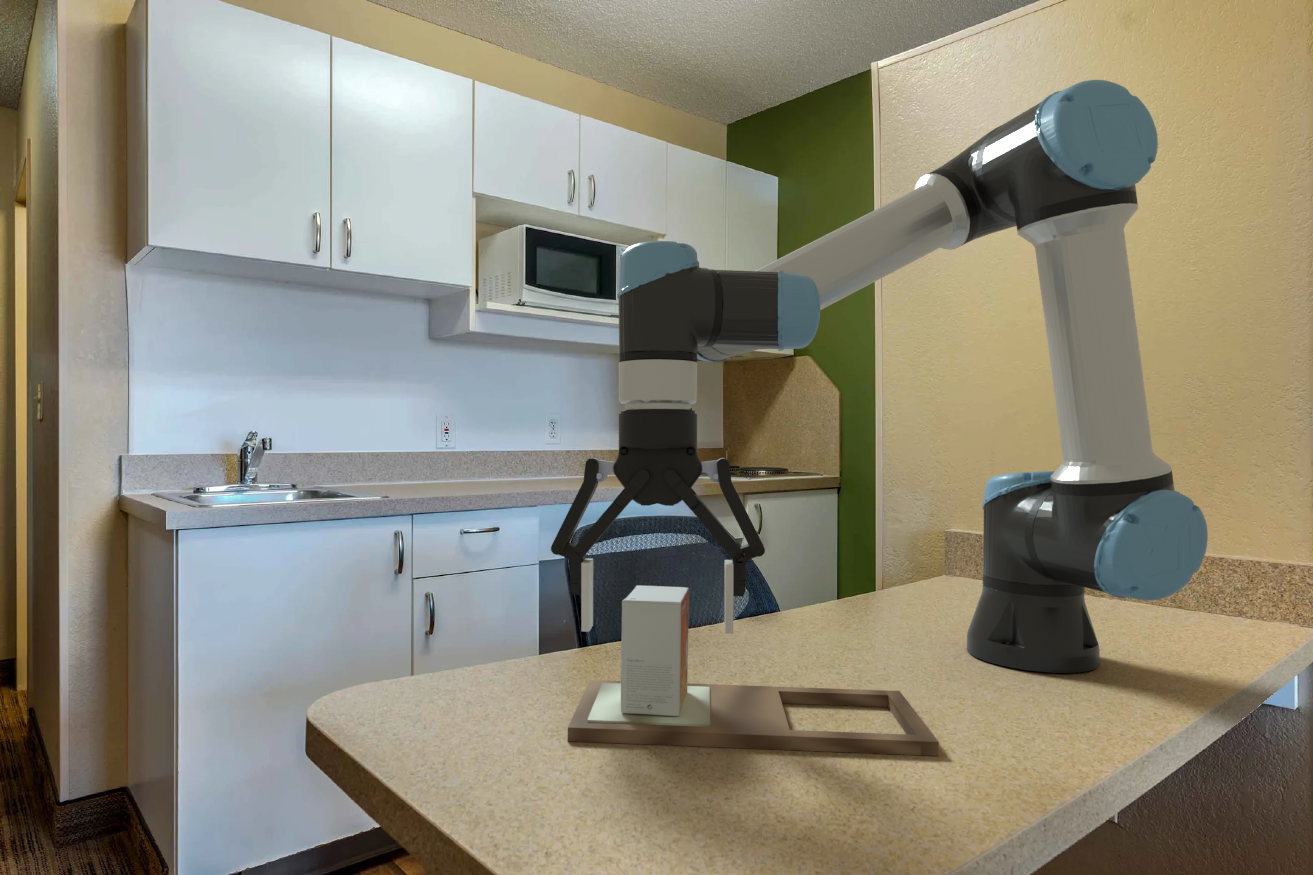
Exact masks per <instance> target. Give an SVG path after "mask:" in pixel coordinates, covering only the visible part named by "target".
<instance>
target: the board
mask: <svg viewBox="0 0 1313 875" xmlns="http://www.w3.org/2000/svg"><path fill="white" fill-rule="evenodd" d="M783 704H794V705H795V704H797V705H801V704H802V705H821V706H823V705H827V706H851V707H853V706H855V707H856V706H857V707H877V708H878V707H880V708H883V707H884V708H885V707H886V708H888V709H889V711H890V712H891V714H892V715H893V717H894V718H895V720H896V721H897V722H898V724H899V725H900V727H901V729H902V730H903V731H904V733H905V734H903V733H901V734H900V733H876V732H856V731H855V732H852V731H851V732H850V731H826V730H825V731H824V730H823V731H822V730H799V729H790V726H789V723H788V719H787V715H786V713H785V712H786V711H785V709H784V706H783ZM567 742H578V743H579V742H580V743H583V742H584V743H603V744H604V743H607V744H608V743H609V744H610V743H611V744H629V745H630V744H632V745H636V744H637V745H652V746H653V745H656V746H657V745H658V746H679V747H680V746H682V747H704V748H705V747H706V748H731V749H732V748H733V749H752V750H753V749H758V750H759V749H760V750H779V751H781V750H782V751H804V752H805V751H807V752H831V753H832V752H833V753H853V754H855V753H856V754H857V753H858V754H859V753H860V754H878V755H880V754H881V755H884V754H885V755H903V756H905V755H908V756H909V755H910V756H929V757H931V756H932V757H934V756H935V757H939V756H940V755H939V753H940V752H939V751H940V747H939V746H940V745H939V744H940V742H939V740H938V739H937V738H936V736H935V735H934V734H933V733H932V731H931V730H930V729H929V727H928V726H927V725H926V723H925V722H924V720H922V718H921V716H919V713H917V712H916V710H915V709H914V707H913V706H912V705H911V704H910V702H909V701H908V700H907V698H906V697H905V696H904V695H903V693H902V692H901V690H882V689H881V690H878V689H854V688H853V689H852V688H826V687H825V688H824V687H823V688H822V687H797V686H796V687H795V686H794V687H793V686H773V685H772V686H770V685H769V686H767V685H764V686H763V685H744V684H743V685H741V684H740V685H739V684H719V683H717V684H713V683H688V682H687V694H686V696H685V699H684V702H683V705H682V708H681V712H680V715H679V716H667V715H648V714H629V713H621V680H606V679H605V680H603V679H602V680H601V679H600V680H599V679H589V681H588V683H587V686H586V687H585V689H584V691H583V694H582V696H581V699H580V700H579V702H578V705H577V706H576V709H575V711H574V713H573V715H572V717H571V720H570V722H569V724H568V725H567Z"/></svg>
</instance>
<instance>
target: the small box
mask: <svg viewBox="0 0 1313 875" xmlns="http://www.w3.org/2000/svg"><path fill="white" fill-rule="evenodd" d="M689 620H690V588H689V587H683V586H665V585H664V586H661V585H659V586H658V585H635V587H634V588H633V590H632V591H631V592H630V593H629V594H628V595H627V596H626V597H625V598H624V599H622V601H621V643H620V644H621V645H620V646H621V647H620V648H621V650H620V651H621V652H620V661H621V662H620V681H621V713H629V714H648V715H667V716H679V715H680V712H681V708H682V705H683V702H684V699H685V696H686V694H687V683H688V669H689V666H688V665H689V664H688V660H689V624H690V623H689V622H690V621H689Z"/></svg>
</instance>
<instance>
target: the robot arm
mask: <svg viewBox="0 0 1313 875" xmlns="http://www.w3.org/2000/svg"><path fill="white" fill-rule="evenodd" d="M1157 132H1158V131H1157V128H1156V124H1155V122H1154V119H1153V117H1152V115H1151V113H1150V111H1149V109H1148V108H1147V107H1146V105H1145V104H1144V103H1143V101H1142V100H1141V99H1140V98H1139V97H1138V96H1136V95H1133V94H1131V93H1130V91H1129V90H1128V89H1127V88H1126V87H1125V86H1122V85H1121V84H1118V83H1116V82H1113V81H1109V80H1106V79H1105V80H1104V79H1089V80H1084V81H1080V82H1078V83H1077V82H1076V83H1075V84H1073V85H1070V86H1069V87H1067V88H1065V89H1063V90H1058V91H1055V92H1053V93H1051V94H1049V95H1048V96H1047V97H1045V98H1044V99H1043V100H1041V102H1039V103H1037V104H1035V105H1034V106H1032V107H1030V108H1029V109H1027V110H1025V111H1023V112H1022V113H1020V114H1018V115H1016V116H1015V117H1013V118H1011V119H1010V120H1008V121H1006V122H1005V123H1003V124H1002V125H998V127H996V128H994V129H992V130H990V131H989V132H988V133H985V135H983V136H982V137H981V138H979V139H978V140H977V141H975V142H974V143H972V144H971V145H970V146H968V147H967V148H965V149H964V150H963V151H961V152H960V153H959V154H957V155H956V156H955V157H953V158H951V159H950V160H948V161H947V162H945V163H944V164H943V165H941V166H939V167H937V168H936V169H934V170H933V171H930V172H929V173H926V174H924V175H922V176H921V177H920V178H919V179H918V180H917V181H916V183H915V185H914V187H913V190H911V191H909V192H908V193H905V194H903V195H902V196H900V197H897V198H896V199H894V200H892V201H890V202H888V203H886V204H884V205H882V206H880V207H878V208H876V209H874V210H872V211H870V212H868V213H866V214H865V215H862V216H860V217H858V218H857V219H854V220H853V221H850V222H849V223H847V224H844V225H843V226H841V227H838V228H837V229H835V230H833V231H831V232H828V233H827V234H824V235H823V236H821V237H819V238H817V239H815V240H813V241H811V242H810V243H809V242H808V243H807V244H805V245H803V246H801V247H800V248H797V249H796V250H794V251H792V252H789V253H787V254H785V255H784V256H782V257H780V258H777V259H776V260H774V261H772V262H770V263H768V264H766V265H764V266H762V267H760V268H758V269H756V270H731V269H730V270H726V269H713V268H712V269H709V268H707V267H700V262H699V260H698V253H697V250H696V248H694V246H692V245H690V244H687V243H684V242H683V243H682V242H681V243H680V242H679V243H678V242H677V241H669V240H652V241H643V242H638V243H635V244H633V245H630V246H629V247H627V248H626V249H625V251H623V252H622V254H621V257H620V264H619V266H620V268H619V280H618V282H619V284H618V293H617V299H618V349H619V350H618V351H619V352H618V354H619V356H618V359H619V360H618V361H619V362H618V402H619V403H620V404H621V405H624V410H621V411H620V413H618V454H617V457H616V460H615V461H612V460H611V461H610V460H602V459H599V458H598V457H591V458H588V459H587V460H586V461H585V467H584V472H583V473H584V475H583V481H582V483H581V485H580V487H579V490H578V491H577V493H576V495H575V498H574V500H573V501H572V503H571V505H570V507H569V509H568V511H567V513H566V515H565V517H564V520H563V522H562V524H561V526H560V527H559V530H558V531H557V534H556V536H555V538H554V539H553V542H552V544H551V546H550V551H551V553H552V554H553V555H556V556H561V557H564V558H566V559H567V560H568V561H569V564H570V572H569V573H570V576H569V577H570V578H569V580H570V581H569V582H570V584H569V586H570V592H571V595H577V596H578V595H581V596H580V597H581V598H580V600H581V605H580V606H581V611H580V613H581V614H580V615H581V618H580V620H581V630H580V631H581V632H587V633H588V632H590V631H591V630H592V627H593V626H594V558H586V554H588V552H590V550H591V549H592V548H593V546H594V545H595V544H596V543H597V542H598V540H599V539H600V538H601V537H602V536H603V534H604V533H605V532H606V531H607V530H608V529H609V527H611V525H612V524H613V523H614V522H615V520H616V519H617V518H618V517H619V515H621V513H622V512H623V511H624V510H625V509H626V507H627V506H628V505H630V503H631V502H632V500H633V502H635V503H636V504H639V505H640V506H641V507H642V506H643V507H644V506H645V507H646V506H652V505H657V504H659V505H663V506H669V507H670V506H672V507H673V506H674V505H678V504H679V503H681V502H683V503H684V504H685V505H686V506H687V507H688V509H690V511H691V512H692V513H693V514H694V515H695V516H696V518H697V519H698V520H699V521H700V522H701V524H703V526H704V527H705V529H706V530H707V531H708V532H709V533H710V534H711V535H712V537H713V538H714V539H715V540H716V541H717V543H718V544H719V545H720V546H721V547H722V548H723V550H724V551H725V552H726V553H727V555H728V556H730V557H731V559H724V633H725V635H727V634H729V635H732V634H734V597H744V596H745V593H746V565H747V562H749V561H750V560H752V559H754V558H757V557H762V556H763V555H764V554H765V553H766V552H765V551H766V548H765V547H764V545H763V541H762V540H761V538H760V536H759V535H758V532H757V530H756V528H755V526H754V525H753V522H752V520H751V518H750V516H749V513H748V512H747V510H746V507H745V506H744V504H743V502H742V500H741V498H740V496H739V494H738V492H737V490H736V488H735V485H734V484H733V482H732V481H733V480H732V473H731V466H730V461H729V460H728V459H727V458H725V457H721V458H720V457H719V459H717V460H707V461H701V460H700V459H699V456H698V413H696V411H695V410H693V408H692V407H691V405H695V404H696V403H697V402H698V360H700V361H703V362H709V363H710V362H711V363H720V362H724V361H726V360H727V359H729V358H733V357H737V356H739V355H744V354H749V353H751V352H754V351H755V352H756V351H758V350H778V351H779V352H780V351H784V350H795V349H796V350H797V349H798V350H799V349H800V350H801V349H804V348H806V347H807V346H809V345H810V344H811V343H812V341H813V340H814V339H815V337H816V334H817V331H818V329H819V326H820V325H819V324H820V318H821V310H823V309H825V308H828V307H829V306H831V305H833V304H834V303H837V302H840V301H841V300H843V299H844V298H847V297H849V296H850V295H852V294H854V293H856V292H858V291H860V290H861V289H863V288H866V287H867V286H869V285H871V284H873V283H876V282H878V281H879V280H881V279H883V278H884V277H886V276H889V275H890V274H893V273H894V272H896V271H898V270H900V269H902V268H904V267H906V266H908V265H909V264H912V263H913V262H915V261H917V260H919V259H922V258H924V257H925V256H926V255H929V254H931V253H933V252H934V251H937V250H938V249H943V250H948V251H949V250H950V251H952V250H955V249H959V248H960V247H962V246H963V245H965V244H967V243H970V242H972V241H974V240H977V239H979V238H982V237H985V236H988V235H991V234H994V233H998V232H1000V231H1005V230H1007V229H1011V228H1014V227H1015V228H1016V231H1017V235H1018V236H1020V237H1021V238H1023V239H1024V240H1026V241H1027V242H1028V243H1030V244H1031V245H1032V246H1033V247H1034V251H1035V257H1036V265H1037V267H1036V268H1037V274H1038V280H1039V288H1040V296H1041V302H1042V310H1043V318H1044V324H1045V333H1046V339H1047V348H1048V349H1047V350H1048V353H1049V355H1048V356H1049V363H1050V368H1051V369H1050V370H1051V378H1052V384H1053V386H1052V387H1053V393H1054V399H1055V406H1056V407H1055V408H1056V414H1057V415H1056V416H1057V421H1058V430H1059V436H1060V437H1059V438H1060V443H1061V444H1060V445H1061V451H1062V452H1061V453H1062V461H1061V463H1060V465H1059V466H1058V467H1057V468H1056V470H1049V471H1048V470H1047V471H1045V470H1044V471H1028V472H1026V471H1025V472H1013V473H1011V472H1009V473H1003V474H997V475H995V476H992V477H991V478H989V479H988V480H987V482H986V484H985V488H984V495H983V496H984V497H983V503H982V510H983V530H982V531H983V532H982V533H983V534H982V536H983V538H982V539H983V541H982V543H983V545H982V551H983V552H982V590H981V594H980V598H979V600H978V602H977V606H976V608H975V611H974V612H973V613H974V614H973V616H972V619H971V622H970V623H969V627H968V629H967V632H966V633H967V634H966V651H967V652H968V654H970V655H971V656H973V657H975V658H977V659H980V660H983V661H985V662H988V663H990V664H991V663H992V664H994V665H999V666H1002V667H1007V668H1012V669H1018V670H1022V671H1023V670H1024V671H1030V672H1039V673H1040V672H1041V673H1055V674H1057V673H1058V674H1075V673H1085V672H1089V671H1094V670H1095V669H1097V668H1099V667H1100V650H1101V649H1100V643H1099V641H1098V638H1097V636H1096V632H1095V629H1094V626H1093V622H1092V620H1091V617H1090V614H1089V610H1088V608H1087V605H1086V600H1085V588H1086V589H1090V590H1094V591H1097V592H1100V593H1105V594H1107V595H1110V596H1112V597H1115V598H1119V599H1135V600H1140V601H1159V600H1162V599H1165V598H1168V597H1170V596H1173V595H1174V594H1176V593H1178V592H1179V591H1181V589H1183V588H1184V587H1186V586H1187V585H1188V584H1189V583H1190V582H1191V580H1192V577H1193V575H1194V573H1197V572H1198V571H1199V569H1200V567H1201V566H1202V564H1203V561H1204V558H1205V557H1206V552H1207V547H1208V540H1209V534H1208V532H1209V531H1208V524H1207V521H1206V518H1205V515H1204V513H1203V511H1202V510H1201V507H1200V506H1198V505H1196V504H1195V502H1194V500H1193V499H1192V498H1190V497H1188V496H1187V495H1185V494H1183V493H1180V491H1176V490H1175V485H1174V484H1175V483H1174V477H1173V475H1174V474H1173V469H1172V466H1171V465H1170V463H1167V462H1166V461H1164V460H1163V459H1162V458H1160V457H1159V456H1158V455H1156V454H1155V453H1154V451H1153V444H1152V436H1151V428H1150V420H1149V413H1148V405H1147V397H1146V390H1145V383H1144V382H1145V381H1144V375H1143V374H1144V373H1143V366H1142V357H1141V351H1140V343H1139V336H1138V335H1139V334H1138V330H1137V329H1138V327H1137V321H1136V320H1137V319H1136V313H1135V305H1134V304H1135V303H1134V296H1133V289H1132V282H1131V274H1130V268H1129V258H1128V251H1127V244H1126V243H1127V242H1126V236H1125V227H1126V226H1127V224H1128V222H1129V221H1130V220H1131V218H1132V217H1133V216H1134V214H1135V213H1136V212H1137V211H1138V209H1139V204H1138V197H1137V188H1136V184H1138V183H1140V182H1141V181H1142V179H1143V178H1144V177H1145V176H1146V175H1147V174H1148V173H1149V172H1150V170H1151V168H1152V166H1151V165H1152V164H1153V163H1154V162H1155V161H1156V158H1157V153H1158V147H1159V141H1158V139H1159V138H1158V133H1157ZM610 473H613V474H614V475H615V477H616V478H617V481H619V482H620V484H621V485H622V487H623V489H622V490H621V491H620V493H619V494H618V495H617V496H616V497H615V499H614V500H613V501H612V502H611V503H610V504H609V506H608V507H607V509H606V510H604V511H603V513H602V514H601V515H600V517H599V518H598V519H596V522H595V523H594V524H593V525H592V526H591V527H590V528H589V530H587V532H586V533H585V534H584V536H583V537H581V539H580V540H579V542H577V544H575V543H571V540H572V538H573V537H574V534H575V532H576V530H577V529H578V527H579V524H580V522H581V521H582V519H583V517H584V515H585V513H586V511H587V508H588V506H589V504H590V502H591V500H592V499H593V496H594V494H595V492H596V490H597V489H598V486H599V483H602V482H604V481H605V480H606V479H607V477H608V475H609V474H610ZM702 473H704V474H706V475H707V476H708V477H709V479H710V481H712V483H718V484H719V488H720V490H721V492H722V494H723V497H724V498H725V500H726V502H727V504H728V507H729V509H730V510H731V512H732V514H733V516H734V518H735V520H736V522H737V525H738V526H739V528H740V530H741V533H742V534H743V537H744V539H745V541H746V543H747V544H743V545H740V544H739V543H738V542H737V540H736V539H735V538H734V536H732V535H731V533H730V532H729V531H728V529H727V528H726V527H725V526H724V525H723V524H722V523H721V521H720V520H719V519H718V518H717V517H716V515H715V514H714V513H713V512H712V511H711V509H709V507H708V506H707V505H706V503H704V501H703V500H702V499H701V497H700V496H699V495H698V493H696V491H695V490H694V488H693V486H694V484H696V482H697V481H698V479H699V478H700V477H701V474H702Z"/></svg>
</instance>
